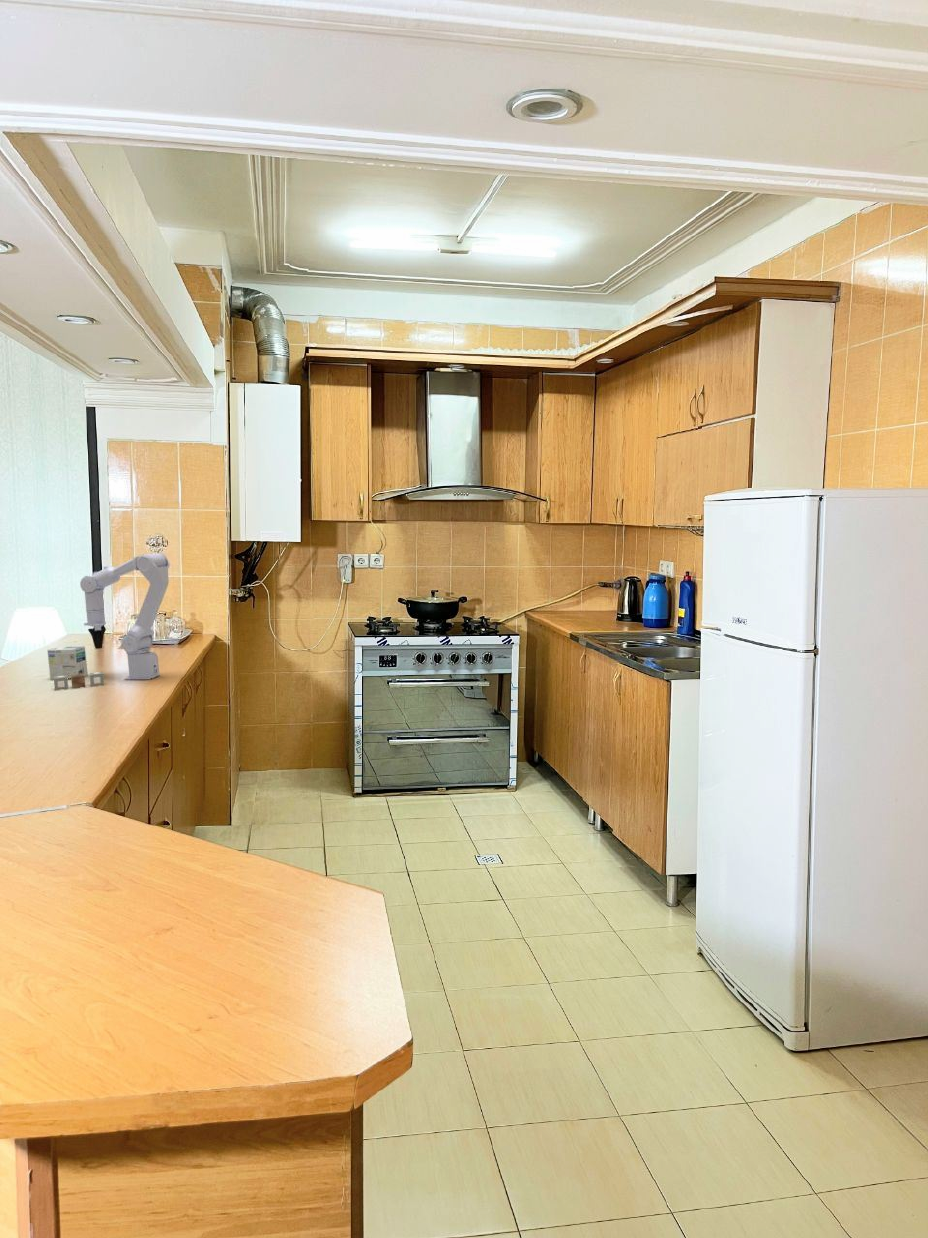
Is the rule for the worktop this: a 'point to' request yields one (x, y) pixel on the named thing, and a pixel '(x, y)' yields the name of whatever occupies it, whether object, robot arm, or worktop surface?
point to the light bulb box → (67, 661)
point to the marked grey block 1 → (60, 682)
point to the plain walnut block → (78, 680)
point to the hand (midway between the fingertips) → (98, 648)
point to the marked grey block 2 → (96, 678)
